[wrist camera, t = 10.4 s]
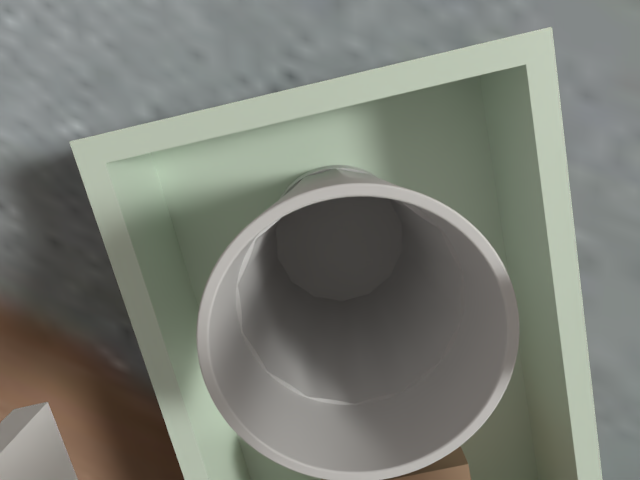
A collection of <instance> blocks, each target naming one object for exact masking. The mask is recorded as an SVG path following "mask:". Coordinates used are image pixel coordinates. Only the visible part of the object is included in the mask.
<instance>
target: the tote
mask: <svg viewBox="0 0 640 480" xmlns="http://www.w3.org/2000/svg"><path fill="white" fill-rule="evenodd" d="M70 145H71V148H72V151H73V154H74V157H75V160H76V163H77V166H78V169H79V172H80V175H81V178H82V181H83V183H84V186H85V189H86V192H87V195H88V198H89V201H90V204H91V207H92V210H93V213H94V216H95V219H96V222H97V225H98V227H99V230H100V233H101V236H102V239H103V242H104V245H105V248H106V251H107V254H108V257H109V260H110V263H111V266H112V268H113V271H114V274H115V277H116V280H117V283H118V286H119V289H120V292H121V295H122V298H123V301H124V304H125V307H126V309H127V312H128V315H129V318H130V321H131V324H132V327H133V330H134V333H135V336H136V339H137V342H138V345H139V348H140V350H141V353H142V356H143V359H144V362H145V365H146V368H147V371H148V374H149V377H150V380H151V383H152V386H153V389H154V391H155V394H156V397H157V400H158V403H159V406H160V409H161V412H162V415H163V418H164V421H165V424H166V427H167V430H168V432H169V435H170V438H171V441H172V444H173V447H174V450H175V453H176V456H177V459H178V462H179V465H180V468H181V471H182V473H183V476H184V479H185V480H321V478H316V477H312V476H308V475H305V474H301V473H299V472H296V471H293V470H290V469H288V468H286V467H284V466H281V465H279V464H277V463H275V462H274V461H272V460H270V459H268V458H267V457H265V456H264V455H262V454H261V453H259V452H258V451H256V450H255V449H254V448H252V447H251V446H250V445H249V444H247V443H246V442H245V441H244V440H243V439H242V438H241V437H240V436H239V435H238V434H237V433H236V432H235V431H234V430H233V429H232V428H231V427H230V426H229V424H228V423H227V422H226V421H225V419H224V418H223V416H222V415H221V414H220V412H219V411H218V409H217V407H216V406H215V404H214V402H213V400H212V398H211V396H210V394H209V392H208V390H207V387H206V385H205V382H204V379H203V376H202V373H201V369H200V365H199V359H198V353H197V340H196V331H197V318H198V311H199V306H200V302H201V298H202V295H203V291H204V288H205V286H206V283H207V281H208V278H209V276H210V274H211V272H212V270H213V268H214V266H215V264H216V263H217V261H218V259H219V258H220V256H221V255H222V253H223V252H224V251H225V249H226V248H227V247H228V245H229V244H230V243H231V242H232V240H233V239H234V238H235V237H236V236H237V235H238V234H239V233H240V232H241V231H242V230H243V229H244V228H245V227H246V226H247V225H248V224H250V223H251V222H252V221H253V220H254V219H256V218H257V217H258V216H259V215H260V214H262V213H263V212H264V211H265V210H267V209H268V208H269V207H270V206H272V205H273V204H274V203H275V202H277V201H278V200H279V198H280V197H281V195H282V194H283V192H284V191H285V190H286V189H287V187H288V186H289V185H290V184H291V183H292V182H294V181H295V180H296V179H297V178H299V177H300V176H302V175H303V174H305V173H307V172H309V171H311V170H314V169H316V168H320V167H324V166H329V165H348V166H353V167H357V168H360V169H363V170H366V171H368V172H370V173H372V174H373V175H375V176H377V177H378V178H380V179H382V180H385V181H387V182H390V183H392V184H395V185H397V186H400V187H404V188H407V189H410V190H413V191H416V192H419V193H421V194H424V195H426V196H429V197H431V198H433V199H435V200H437V201H439V202H441V203H443V204H445V205H447V206H448V207H450V208H451V209H453V210H454V211H456V212H457V213H459V214H460V215H462V216H463V217H464V218H465V219H467V220H468V221H469V222H470V223H471V224H472V225H474V226H475V227H476V228H477V229H478V230H479V231H480V232H481V234H482V235H483V236H484V237H485V238H486V239H487V240H488V242H489V243H490V244H491V246H492V247H493V248H494V250H495V251H496V253H497V254H498V256H499V258H500V259H501V261H502V263H503V265H504V267H505V269H506V271H507V273H508V275H509V277H510V280H511V283H512V286H513V289H514V292H515V296H516V301H517V306H518V313H519V345H518V353H517V357H516V362H515V366H514V369H513V373H512V376H511V378H510V381H509V383H508V386H507V388H506V390H505V392H504V394H503V396H502V398H501V400H500V402H499V403H498V405H497V406H496V408H495V409H494V411H493V412H492V414H491V415H490V416H489V418H488V419H487V420H486V421H485V423H484V424H483V425H482V426H481V427H480V428H479V429H478V430H477V431H476V432H475V433H474V435H472V436H471V437H470V438H469V439H468V440H467V441H466V442H465V443H463V444H462V445H461V448H462V451H463V453H464V455H465V458H466V460H467V462H468V465H469V470H470V476H471V480H602V472H601V463H600V454H599V445H598V436H597V427H596V418H595V409H594V400H593V391H592V382H591V373H590V364H589V355H588V346H587V337H586V328H585V319H584V310H583V301H582V292H581V283H580V274H579V265H578V257H577V248H576V239H575V230H574V221H573V212H572V203H571V194H570V185H569V176H568V167H567V158H566V149H565V140H564V131H563V122H562V113H561V104H560V95H559V86H558V77H557V68H556V59H555V50H554V41H553V32H552V27H549V28H545V29H540V30H536V31H532V32H528V33H524V34H519V35H515V36H511V37H507V38H503V39H498V40H494V41H490V42H486V43H482V44H477V45H473V46H469V47H465V48H461V49H456V50H452V51H448V52H444V53H440V54H435V55H431V56H427V57H423V58H419V59H414V60H410V61H406V62H402V63H398V64H393V65H389V66H385V67H381V68H377V69H372V70H368V71H364V72H360V73H356V74H351V75H347V76H343V77H339V78H335V79H330V80H326V81H322V82H318V83H314V84H309V85H305V86H301V87H297V88H293V89H288V90H284V91H280V92H276V93H272V94H267V95H263V96H259V97H255V98H251V99H246V100H242V101H238V102H234V103H230V104H225V105H221V106H217V107H213V108H209V109H204V110H200V111H196V112H192V113H188V114H183V115H179V116H175V117H171V118H167V119H162V120H158V121H154V122H150V123H146V124H141V125H137V126H133V127H129V128H125V129H120V130H116V131H112V132H108V133H104V134H99V135H95V136H91V137H87V138H83V139H78V140H74V141H70Z"/></svg>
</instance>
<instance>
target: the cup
mask: <svg viewBox="0 0 640 480" xmlns="http://www.w3.org/2000/svg"><path fill="white" fill-rule="evenodd" d="M196 340H197V353H198V359H199V365H200V369H201V373H202V376H203V379H204V382H205V385H206V387H207V390H208V392H209V394H210V396H211V398H212V400H213V402H214V404H215V406H216V407H217V409H218V411H219V412H220V414H221V415H222V416H223V418H224V419H225V421H226V422H227V423H228V424H229V426H230V427H231V428H232V429H233V430H234V431H235V432H236V433H237V434H238V435H239V436H240V437H241V438H242V439H243V440H244V441H245V442H246V443H247V444H249V445H250V446H251V447H252V448H254V449H255V450H256V451H258V452H259V453H261V454H262V455H264V456H265V457H267V458H268V459H270V460H272V461H274V462H275V463H277V464H279V465H281V466H284V467H286V468H288V469H290V470H293V471H296V472H299V473H301V474H305V475H308V476H312V477H316V478H321V479H326V480H383V479H388V478H393V477H397V476H401V475H405V474H408V473H411V472H414V471H416V470H419V469H421V468H424V467H426V466H428V465H430V464H432V463H434V462H436V461H438V460H440V459H442V458H443V457H445V456H447V455H448V454H450V453H451V452H453V451H454V450H455V449H457V448H458V447H459V446H461V445H462V444H463V443H465V442H466V441H467V440H468V439H469V438H470V437H471V436H472V435H474V433H475V432H476V431H477V430H478V429H479V428H480V427H481V426H482V425H483V424H484V423H485V421H486V420H487V419H488V418H489V416H490V415H491V414H492V412H493V411H494V409H495V408H496V406H497V405H498V403H499V402H500V400H501V398H502V396H503V394H504V392H505V390H506V388H507V386H508V383H509V381H510V378H511V376H512V373H513V369H514V366H515V362H516V357H517V353H518V345H519V313H518V306H517V301H516V296H515V292H514V289H513V286H512V283H511V280H510V277H509V275H508V273H507V271H506V269H505V267H504V265H503V263H502V261H501V259H500V258H499V256H498V254H497V253H496V251H495V250H494V248H493V247H492V246H491V244H490V243H489V242H488V240H487V239H486V238H485V237H484V236H483V235H482V234H481V232H480V231H479V230H478V229H477V228H476V227H475V226H474V225H472V224H471V223H470V222H469V221H468V220H467V219H465V218H464V217H463V216H462V215H460V214H459V213H457V212H456V211H454V210H453V209H451V208H450V207H448V206H447V205H445V204H443V203H441V202H439V201H437V200H435V199H433V198H431V197H429V196H426V195H424V194H421V193H419V192H416V191H413V190H410V189H407V188H404V187H400V186H397V185H395V184H392V183H390V182H387V181H385V180H382V179H380V178H378V177H377V176H375V175H373V174H372V173H370V172H368V171H366V170H363V169H360V168H357V167H353V166H348V165H329V166H324V167H320V168H316V169H314V170H311V171H309V172H307V173H305V174H303V175H302V176H300V177H299V178H297V179H296V180H295V181H294V182H292V183H291V184H290V185H289V186H288V187H287V189H286V190H285V191H284V192H283V194H282V195H281V197H280V198H279V200H278V201H277V202H275V203H274V204H273V205H272V206H270V207H269V208H268V209H267V210H265V211H264V212H263V213H262V214H260V215H259V216H258V217H257V218H256V219H254V220H253V221H252V222H251V223H250V224H248V225H247V226H246V227H245V228H244V229H243V230H242V231H241V232H240V233H239V234H238V235H237V236H236V237H235V238H234V239H233V240H232V242H231V243H230V244H229V245H228V247H227V248H226V249H225V251H224V252H223V253H222V255H221V256H220V258H219V259H218V261H217V263H216V264H215V266H214V268H213V270H212V272H211V274H210V276H209V278H208V281H207V283H206V286H205V288H204V291H203V295H202V298H201V302H200V306H199V311H198V318H197V331H196Z"/></svg>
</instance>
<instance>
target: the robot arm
mask: <svg viewBox="0 0 640 480" xmlns="http://www.w3.org/2000/svg"><path fill="white" fill-rule="evenodd" d="M0 480H78V479H77V476H76V474H75V471H74V469H73V466H72V463H71V461H70V458H69V456H68V453H67V450H66V448H65V445H64V443H63V440H62V438H61V435H60V432H59V430H58V427H57V425H56V422H55V419H54V417H53V414H52V412H51V409H50V407H49V404H48V402H45V403H41V404H36V405H32V406H27V407H23V408H18V409H14V410H13V411H12V412H11V413H10V414H9V415H8V416H7V417H6V418H5V419H4V420H3V421H2V422H1V423H0Z"/></svg>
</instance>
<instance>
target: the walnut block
mask: <svg viewBox="0 0 640 480" xmlns="http://www.w3.org/2000/svg"><path fill="white" fill-rule="evenodd" d="M321 480H326V479H321ZM383 480H471V476H470V470H469V465H468V462H467V460H466V458H465V455H464V453H463V451H462V448H461V446H459V447H458V448H457V449H455V450H454V451H453V452H451V453H450V454H448V455H447V456H445V457H443V458H442V459H440V460H438V461H436V462H434V463H432V464H430V465H428V466H426V467H424V468H421V469H419V470H416V471H414V472H411V473H408V474H405V475H401V476H397V477H393V478H388V479H383Z"/></svg>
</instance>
